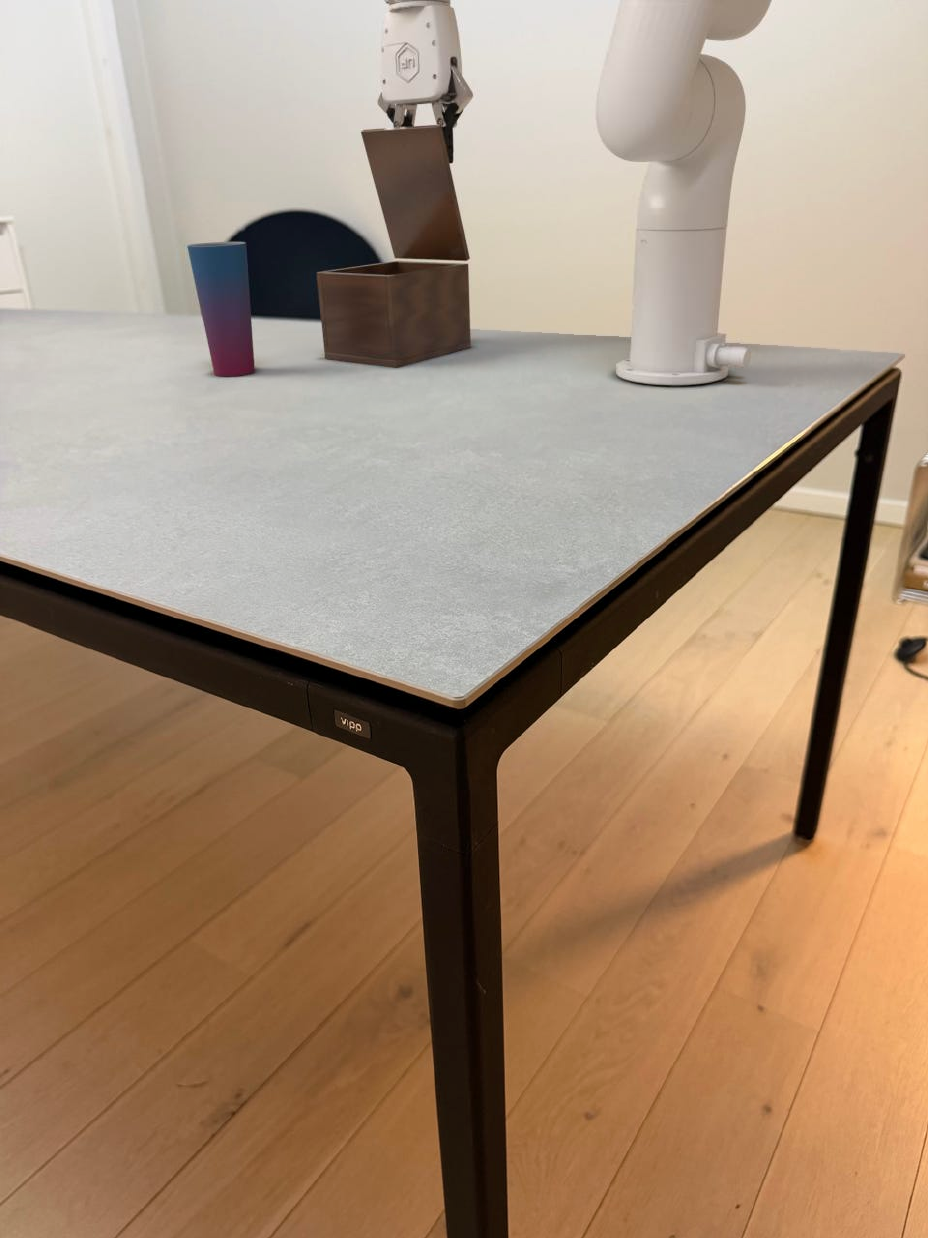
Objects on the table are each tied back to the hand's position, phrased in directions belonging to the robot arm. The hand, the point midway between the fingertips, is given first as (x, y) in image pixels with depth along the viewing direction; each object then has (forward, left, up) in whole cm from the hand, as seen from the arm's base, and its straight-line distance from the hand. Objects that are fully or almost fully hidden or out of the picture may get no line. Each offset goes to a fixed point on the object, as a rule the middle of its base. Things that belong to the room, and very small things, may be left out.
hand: (426, 162), depth 119 cm
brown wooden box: (0, +8, -23) cm, 24 cm away
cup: (+10, +28, -23) cm, 37 cm away
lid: (0, +3, -4) cm, 5 cm away
